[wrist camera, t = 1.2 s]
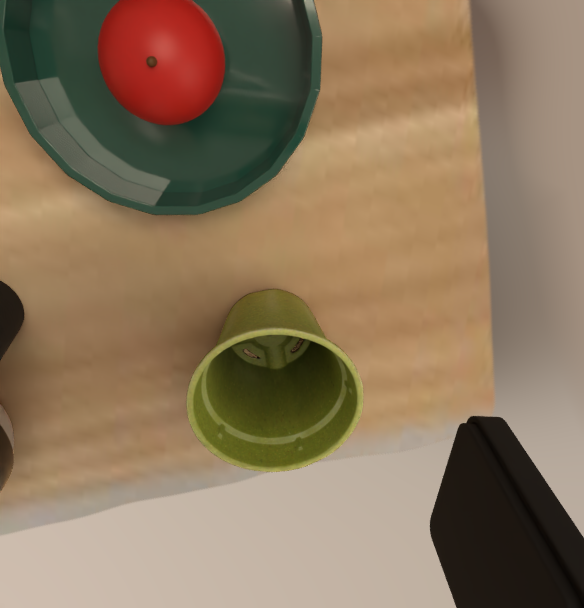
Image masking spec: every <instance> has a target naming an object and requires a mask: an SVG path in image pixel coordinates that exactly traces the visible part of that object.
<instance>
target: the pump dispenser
mask: <svg viewBox="0 0 584 608" xmlns="http://www.w3.org/2000/svg"><path fill="white" fill-rule="evenodd" d="M13 450H14V433H13V427H12V424H11V421H10V419H9V416H8V414H7V413H6V411H5V409H4V408H3V407H2V405H1V404H0V492H1V491H2V489H3V488H4V486H5V484H6V483H7V481H8V479H9V477H10V475H11V472H12V469H13V463H14V454H13Z"/></svg>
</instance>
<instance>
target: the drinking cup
mask: <svg viewBox="0 0 584 608" xmlns="http://www.w3.org/2000/svg"><path fill="white" fill-rule="evenodd" d="M23 320H24V310H23V306H22V303H21V301H20V299H19V297H18V296H17V295H16V293H15V292H14V291H13V290H12V289H11V288H10V287H9V286H7V285H6V284H5V283H3V282H2V281H0V360H1V359H2V357H3V355H4V354H5V352H6V351H7V349H8V347H9V346H10V344H11V342H12V341H13V339H14V338H15V336H16V334H17V333H18V331H19V329H20V328H21V326H22V323H23Z"/></svg>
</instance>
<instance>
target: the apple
mask: <svg viewBox="0 0 584 608" xmlns="http://www.w3.org/2000/svg"><path fill="white" fill-rule="evenodd" d="M98 60H99V66H100V69H101V73H102V76H103V78H104V81H105V83H106V85H107V87H108V88H109V90H110V92H111V93H112V95H113V96H114V97H115V98H116V100H117V101H118V102H119V103H120V104H121V105H122V106H123V107H124V108H125V109H126V110H128V111H129V112H130V113H132V114H133V115H135V116H137V117H139V118H140V119H143V120H145V121H148V122H151V123H154V124H160V125H177V124H182V123H185V122H188V121H190V120H193V119H195V118H197V117H198V116H200V115H201V114H203V113H204V112H205V111H206V110H207V109H208V108H209V107H210V106H211V105H212V104H213V102H214V100H215V99H216V97H217V96H218V94H219V91H220V89H221V86H222V83H223V79H224V74H225V54H224V48H223V44H222V41H221V38H220V35H219V33H218V31H217V29H216V27H215V25H214V23H213V22H212V20H211V19H210V17H209V16H208V15H207V13H206V12H205V11H204V10H203V9H202V8H201V7H200V6H199V5H197V4H196V3H195V2H194V1H192V0H119V1H118V2H117V3H116V4H115V5H114V6H113V7H112V9H111V10H110V11H109V13H108V14H107V16H106V18H105V20H104V21H103V24H102V27H101V29H100V34H99V38H98Z"/></svg>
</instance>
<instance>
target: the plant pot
mask: <svg viewBox="0 0 584 608" xmlns="http://www.w3.org/2000/svg"><path fill="white" fill-rule="evenodd" d="M300 338H303V339H304V342H303V343H302V345H301V346H300V348H299V349H298V350H297V351H296V352H294V353H292V352H291V350H292V349H293V348H294V346H296V344H297V343H298V342H299V340H300ZM244 349H248V350H249V351H250V352H252V353H253V354H255V355H257V356H258V357H260V358H252V357H250V356H248V355H246V354H245V353H244V351H243V350H244ZM362 408H363V385H362V381H361V378H360V375H359V373H358V371H357V369H356V367H355V365H354V364H353V362H352V361H351V359H350V358H349V357H348V356H347V354H346V353H345V352H344V351H343V350H342V349H341V348H339V347H338V346H337V345H336V344H334V343H333V342H331V341H330V340H328V339H326V337H325V335H324V333H323V332H322V330H321V328H320V326H319V325H318V323H317V321H316V319H315V317H314V315H313V314H312V312H311V311H310V309H309V307H308V306H307V305H306V304H305V303H304V302H303V301H302V300H301V299H300V298H299V297H297V296H296V295H294V294H292V293H289V292H286V291H283V290H279V289H271V290H265V291H259V292H255V293H250V294H248V295H246V296H244V297H243V298H242V299H240V300H239V301H238V302H237V303H236V304H235V305H234V306H233V307H232V309H231V310H230V312H229V314H228V316H227V319H226V321H225V324H224V327H223V329H222V332H221V334H220V337H219V339H218V342H217V344H216V346H215V347H214V348H213V349H212V350H211V351H210V352H208V353H207V354H206V355H205V357H204V358H203V359H202V360H201V362H200V363H199V364H198V366H197V367H196V369H195V371H194V373H193V375H192V377H191V380H190V383H189V386H188V391H187V397H186V409H187V415H188V419H189V422H190V425H191V427H192V429H193V432H194V433H195V435H196V437H197V438H198V440H199V441H200V442H201V443H202V444H203V445H204V446H205V447H206V448H207V449H208V450H209V451H210V452H211V453H213V454H214V455H216V456H217V457H218V458H220V459H222V460H223V461H225V462H228V463H230V464H233V465H235V466H238V467H241V468H244V469H248V470H254V471H265V472H280V471H289V470H294V469H299V468H302V467H305V466H308V465H310V464H312V463H314V462H317V461H319V460H321V459H323V458H325V457H327V456H328V455H330V454H331V453H333V452H334V451H335V450H337V449H338V448H339V447H340V446H341V445H342V444H343V443H344V441H345V440H347V439H348V438H349V436H350V435H351V433H352V432H353V430H354V429H355V427H356V425H357V423H358V421H359V418H360V416H361V412H362Z"/></svg>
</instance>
